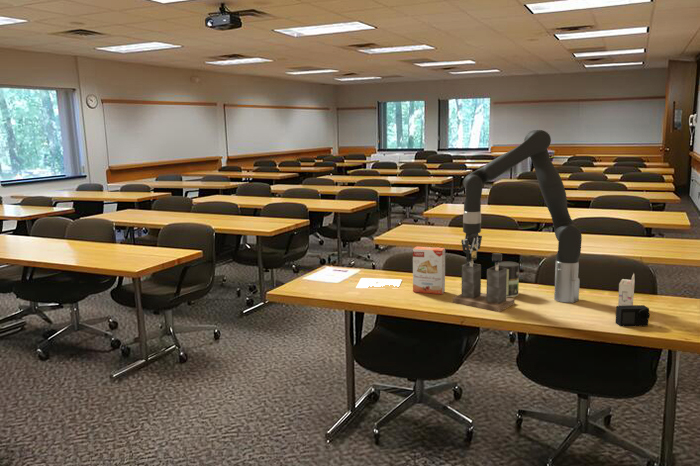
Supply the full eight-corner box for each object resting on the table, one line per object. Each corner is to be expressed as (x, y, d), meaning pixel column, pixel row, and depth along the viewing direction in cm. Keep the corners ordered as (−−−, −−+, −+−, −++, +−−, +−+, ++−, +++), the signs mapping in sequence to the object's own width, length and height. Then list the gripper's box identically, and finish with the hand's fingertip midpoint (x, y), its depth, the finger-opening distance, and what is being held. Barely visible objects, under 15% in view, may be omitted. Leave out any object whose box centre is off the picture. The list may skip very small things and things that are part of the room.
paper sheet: (407, 281, 283) (407, 279, 282) (393, 300, 256) (393, 297, 255) (362, 278, 290) (362, 276, 290) (344, 296, 263) (344, 294, 263)
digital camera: (621, 327, 210) (622, 309, 209) (615, 322, 215) (616, 305, 214) (649, 327, 210) (651, 309, 209) (642, 322, 215) (643, 304, 214)
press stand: (514, 303, 242) (515, 267, 239) (499, 311, 231) (500, 274, 229) (468, 294, 256) (469, 260, 253) (452, 302, 246) (452, 266, 243)
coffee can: (517, 291, 260) (518, 261, 257) (519, 297, 250) (520, 266, 247) (494, 290, 262) (495, 260, 259) (495, 296, 252) (496, 266, 249)
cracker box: (412, 292, 262) (412, 248, 258) (416, 289, 268) (415, 245, 264) (442, 295, 257) (442, 250, 253) (445, 291, 262) (445, 247, 258)
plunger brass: (477, 291, 247) (478, 250, 244) (472, 294, 244) (473, 252, 241) (469, 290, 250) (469, 249, 247) (464, 292, 247) (464, 251, 244)
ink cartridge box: (619, 305, 235) (622, 271, 232) (633, 307, 232) (635, 272, 230) (617, 311, 228) (619, 276, 225) (630, 313, 225) (633, 277, 223)
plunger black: (503, 296, 239) (504, 253, 236) (498, 298, 236) (499, 255, 233) (494, 294, 242) (494, 252, 239) (489, 296, 239) (490, 254, 236)
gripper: (471, 224, 234) (470, 265, 237) (488, 220, 244) (487, 258, 247) (455, 223, 239) (455, 262, 242) (472, 218, 249) (472, 256, 252)
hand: (471, 260), depth 244 cm, fingers closed on plunger brass, 4 cm apart
